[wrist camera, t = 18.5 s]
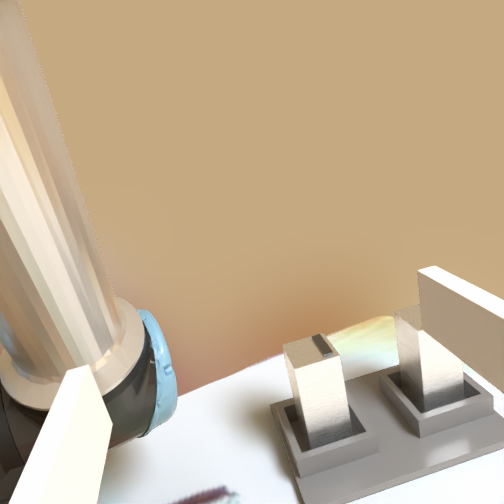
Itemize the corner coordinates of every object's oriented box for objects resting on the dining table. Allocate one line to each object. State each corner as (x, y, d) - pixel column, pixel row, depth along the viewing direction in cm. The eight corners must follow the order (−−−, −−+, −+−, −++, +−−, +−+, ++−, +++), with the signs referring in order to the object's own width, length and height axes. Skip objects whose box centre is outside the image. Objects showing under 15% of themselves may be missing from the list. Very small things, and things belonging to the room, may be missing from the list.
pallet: (308, 516, 39) (302, 490, 38) (271, 410, 54) (266, 389, 53) (522, 441, 42) (522, 415, 41) (430, 360, 57) (428, 340, 56)
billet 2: (426, 420, 46) (417, 328, 42) (402, 393, 51) (393, 309, 47) (464, 407, 47) (460, 316, 43) (438, 382, 51) (431, 298, 47)
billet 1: (313, 458, 44) (293, 366, 41) (299, 427, 49) (281, 342, 45) (354, 444, 45) (339, 353, 41) (337, 415, 50) (322, 330, 46)
